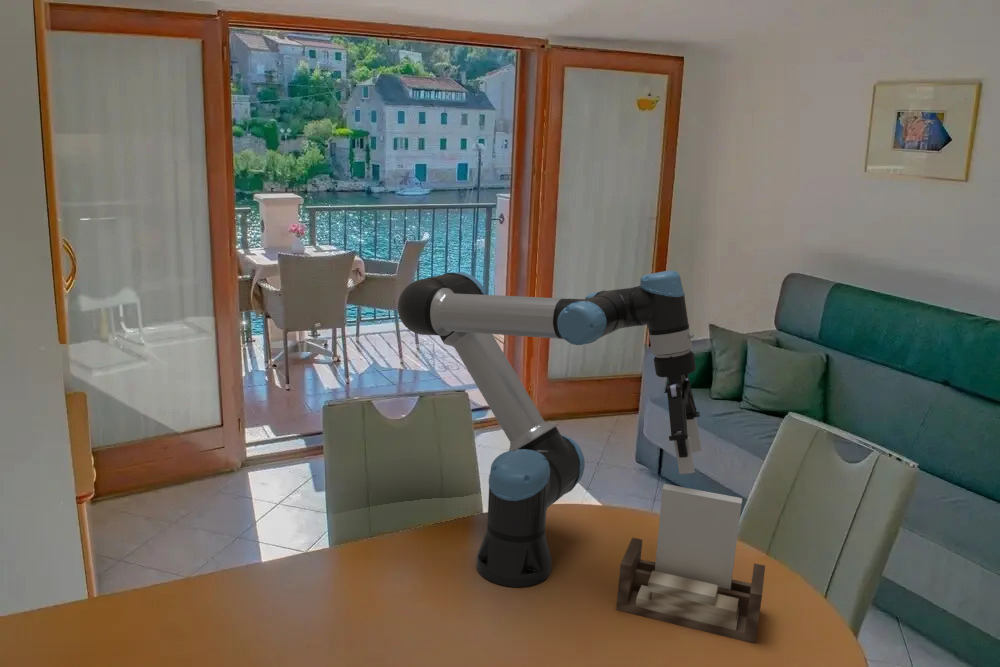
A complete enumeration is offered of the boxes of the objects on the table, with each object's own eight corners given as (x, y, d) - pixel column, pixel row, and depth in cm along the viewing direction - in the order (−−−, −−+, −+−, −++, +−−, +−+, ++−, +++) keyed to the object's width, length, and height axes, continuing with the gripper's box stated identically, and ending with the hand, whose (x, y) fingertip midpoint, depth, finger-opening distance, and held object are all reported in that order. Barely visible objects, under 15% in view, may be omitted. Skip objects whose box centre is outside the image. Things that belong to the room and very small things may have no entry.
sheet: (652, 590, 157) (662, 488, 150) (654, 584, 159) (664, 483, 152) (727, 607, 153) (741, 503, 146) (728, 601, 154) (742, 498, 147)
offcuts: (635, 606, 152) (638, 580, 150) (640, 593, 156) (643, 567, 155) (736, 630, 146) (739, 603, 144) (738, 616, 150) (741, 589, 149)
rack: (616, 609, 153) (620, 563, 151) (628, 580, 163) (632, 537, 161) (755, 643, 145) (762, 595, 142) (758, 610, 155) (765, 565, 153)
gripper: (685, 363, 141) (705, 481, 144) (699, 339, 165) (715, 441, 167) (642, 368, 144) (662, 484, 146) (662, 344, 167) (678, 444, 170)
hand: (691, 461), depth 157 cm, fingers open, 13 cm apart
